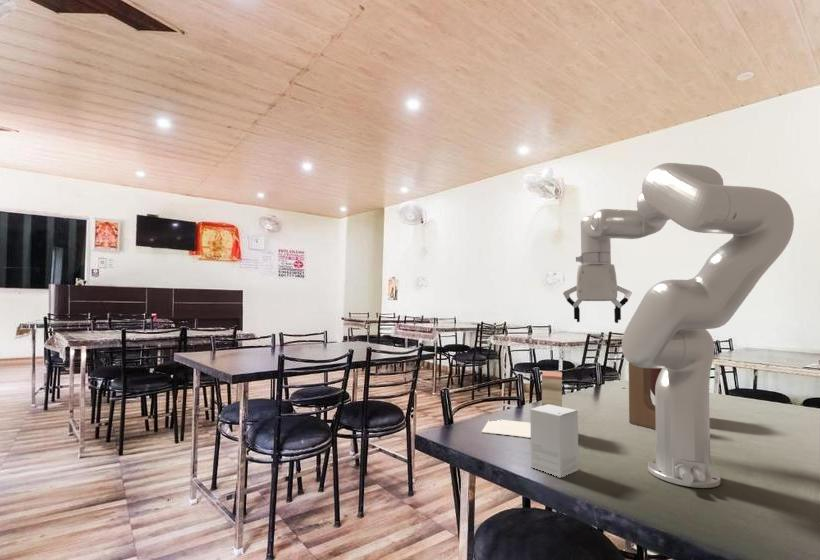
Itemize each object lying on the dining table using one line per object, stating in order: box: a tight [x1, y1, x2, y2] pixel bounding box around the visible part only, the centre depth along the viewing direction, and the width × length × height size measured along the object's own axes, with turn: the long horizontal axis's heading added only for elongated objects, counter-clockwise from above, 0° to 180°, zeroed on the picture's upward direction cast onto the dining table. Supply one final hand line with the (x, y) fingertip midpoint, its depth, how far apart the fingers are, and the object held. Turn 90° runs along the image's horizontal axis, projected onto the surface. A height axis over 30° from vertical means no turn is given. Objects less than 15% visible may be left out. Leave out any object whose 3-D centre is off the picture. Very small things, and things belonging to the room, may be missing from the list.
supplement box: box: [529, 404, 579, 479], centre depth 91 cm, size 7×7×13 cm
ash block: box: [541, 370, 563, 407], centre depth 116 cm, size 8×5×16 cm, turn 160°
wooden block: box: [628, 362, 656, 430], centre depth 124 cm, size 9×4×18 cm, turn 38°
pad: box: [481, 419, 531, 439], centre depth 119 cm, size 14×14×1 cm
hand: (597, 322), depth 117 cm, fingers open, 9 cm apart
